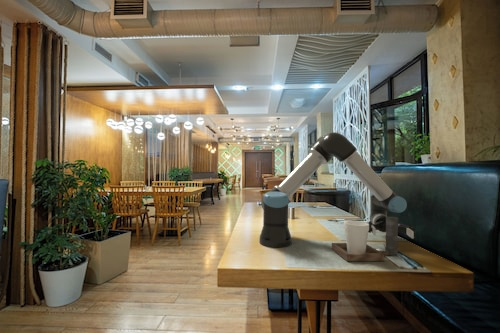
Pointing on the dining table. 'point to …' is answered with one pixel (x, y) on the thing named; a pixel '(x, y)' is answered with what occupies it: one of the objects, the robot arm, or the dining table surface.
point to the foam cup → (356, 236)
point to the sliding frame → (373, 253)
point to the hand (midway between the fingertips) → (393, 233)
